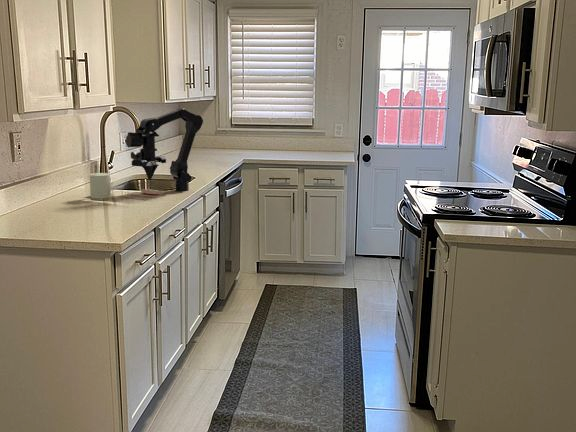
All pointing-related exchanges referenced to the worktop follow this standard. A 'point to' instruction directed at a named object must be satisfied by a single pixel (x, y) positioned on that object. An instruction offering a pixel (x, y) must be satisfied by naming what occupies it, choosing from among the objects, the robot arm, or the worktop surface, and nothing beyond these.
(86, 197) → the worktop surface
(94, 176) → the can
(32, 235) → the worktop surface
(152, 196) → the board
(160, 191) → the tile
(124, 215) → the worktop surface
